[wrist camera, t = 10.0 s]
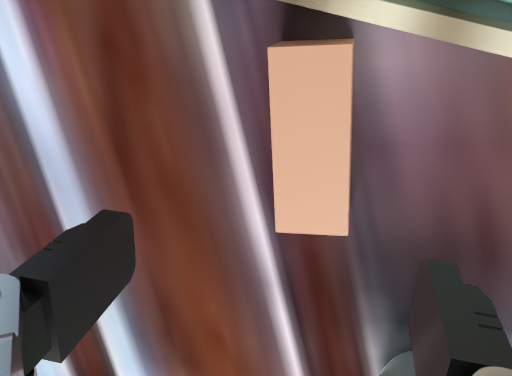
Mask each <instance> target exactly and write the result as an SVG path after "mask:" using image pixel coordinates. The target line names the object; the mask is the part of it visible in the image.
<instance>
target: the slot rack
mask: <svg viewBox="0 0 512 376" xmlns="http://www.w3.org/2000/svg"><path fill="white" fill-rule="evenodd" d="M279 1H283V2H287V3H291V4H295V5H299V6H303V7H307V8H311V9H316V10H320V11H324V12H328V13H332V14H336V15H340V16H344V17H348V18H352V19H356V20H360V21H364V22H369V23H373V24H377V25H381V26H385V27H389V28H393V29H397V30H401V31H405V32H409V33H413V34H417V35H422V36H426V37H430V38H434V39H438V40H442V41H446V42H450V43H454V44H458V45H462V46H466V47H471V48H475V49H479V50H483V51H487V52H491V53H495V54H499V55H503V56H507V57H511V58H512V6H511V5H507V4H504V3H501V2H497V1H494V0H279Z"/></svg>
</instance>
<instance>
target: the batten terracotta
mask: <svg viewBox="0 0 512 376" xmlns="http://www.w3.org/2000/svg"><path fill="white" fill-rule="evenodd" d="M353 65H354V38H345V39H322V40H299V41H280V42H278V43H276V44H274V45H272V46H270V47H268V69H269V92H270V114H271V137H272V160H273V182H274V205H275V228H276V232H282V233H300V234H319V235H337V236H348V227H349V213H350V184H351V144H352V105H353Z"/></svg>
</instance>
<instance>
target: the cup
mask: <svg viewBox="0 0 512 376" xmlns="http://www.w3.org/2000/svg"><path fill="white" fill-rule="evenodd" d="M379 376H416V374H415V367H414V360H413V353H412V351H408V352H404V353H402V354H399V355H397V356H395V357H394V358H393V359H391V360H390V361H389V362H388V363H387V364H386V365H385V367H384V368H383V369H382V371H381V373H380V375H379Z"/></svg>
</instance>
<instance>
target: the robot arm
mask: <svg viewBox="0 0 512 376" xmlns="http://www.w3.org/2000/svg"><path fill="white" fill-rule="evenodd" d="M135 262H136V261H135V244H134V229H133V219H132V216H131V215H130V214H129V213H125V212H118V211H112V210H101V211H100V212H99V213H98V214H96V215H95V216H94V217H92V218H91V219H90V220H89V221H87V222H86V223H82V224H80V225H78V226H75V227H73V228H71V229H68V230H66V231H65V232H63V233H62V234H61V235H59V236H58V237H57V238H55V239H54V240H53V242H50V243H49V244H48V245H46V246H45V247H44V248H43V250H40V251H39V252H37V253H36V254H35V255H33V256H32V257H31V258H29V259H28V260H27V261H26V262H24V263H23V264H22V265H20V266H19V267H18V268H16V269H15V270H14V271H13V272H11V273H10V274H9V275H7V274H0V376H37V372H36V367H35V366H36V365H37V364H38V363H39V362H40V360H41V359H44V360H49V361H53V362H58V363H62V362H63V361H64V359H65V358H66V357H67V356H68V355H69V353H70V352H71V351H72V350H73V349H74V347H75V346H76V345H77V344H78V343H79V341H80V340H81V339H82V338H83V337H84V335H85V334H86V333H87V332H88V331H89V329H90V328H91V327H92V326H93V325H94V323H95V322H96V321H97V320H98V319H99V317H100V316H101V315H102V314H103V313H104V311H105V310H106V309H107V308H108V307H109V305H110V304H111V303H112V302H113V301H114V299H115V298H116V297H117V296H118V295H119V293H120V292H121V291H122V290H123V289H124V287H125V286H126V285H127V284H128V283H129V281H130V280H131V278H132V276H133V273H134V269H135ZM409 332H410V340H411V347H412V353H413V360H414V367H415V374H416V376H512V347H511V345H510V343H509V341H508V338H507V336H506V334H505V332H504V331H503V327H502V324H501V322H500V320H499V319H498V315H497V313H496V311H495V308H494V306H493V304H492V301H491V300H490V299H489V298H488V297H487V296H486V295H485V294H484V293H483V292H482V291H481V290H480V289H479V288H478V287H477V286H471V285H464V284H463V281H462V278H461V276H460V273H459V270H458V267H457V265H456V264H455V263H451V262H444V261H437V260H431V259H424V260H423V262H422V264H421V268H420V272H419V276H418V281H417V285H416V289H415V294H414V298H413V302H412V307H411V312H410V322H409Z"/></svg>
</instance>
